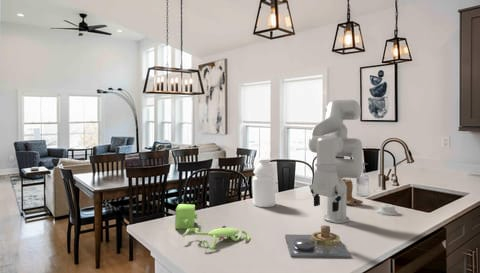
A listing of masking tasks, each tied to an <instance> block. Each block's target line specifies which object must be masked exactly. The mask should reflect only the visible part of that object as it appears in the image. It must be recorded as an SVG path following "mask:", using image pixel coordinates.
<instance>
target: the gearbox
mask: <svg viewBox="0 0 480 273" xmlns="http://www.w3.org/2000/svg"><path fill="white" fill-rule="evenodd" d="M174 218H175V219H174V220H175V221H174V224H175V226H174V229H178V230H187V229H189V228H194V225H195V220H198V213H196V205H195V204H191V203H190V204H189V203H187V204H186V203H180V204H178V205H177V206H176V208H175V217H174Z"/></svg>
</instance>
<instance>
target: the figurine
mask: <svg viewBox="0 0 480 273" xmlns="http://www.w3.org/2000/svg"><path fill="white" fill-rule="evenodd" d="M193 231H194V233H195V235H197V236H210V237H213V240H212V246H210V244H209V242H208V241H207V240H206V239H202V240H201V243H202V246H203V247H204V249H205V252H206V253H207V248H208V250H210V251H212V250H214V249H215V248H216V244H217V238H218V241H221V240H223V239H224V238H227V239H229V238H231V240H233V241H234V242H237V241H238V240H240V238H241V237H242V234H244V235H245V236H246V237H243V240H244V241H246V242H249V241H250V240H251V237H250V234H249V233H248V232H247V231H245V230H241V231H239V229H237V228H236V227H235V228H234V227H227V226H226V225H223V226H222V227H217V228H216V229H212V230H210V231H209V232H207V231H205V232H203V231H200V228H199V227H193V228H189V229H185V232H184V233H182V238H185V237H186V236H187V235H188V234H189V232H193ZM238 233H239V234H238ZM236 235H238V236H237V238H236ZM205 243H206V245H207V248H206V245H205Z"/></svg>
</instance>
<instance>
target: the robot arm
mask: <svg viewBox="0 0 480 273" xmlns="http://www.w3.org/2000/svg"><path fill="white" fill-rule="evenodd" d="M324 112H325V115H324V119H323V120H321V121H320V122H319V123H317V124H316V125H315V126H314V127H312V129H311V132H310V135H309V140H308V149H309V151H310V152H312V153H314V154H315V153H316V163H315V164H314V165H315V167H316V169H315V170H314V174H313V180H312V181H313V182H312V183H311V184H309V187H308V188H309V190H310V193H311V195H312V197H313V207H319V206H320V205H321V197H320V196H323V197H326V214H325V215H324V216H323V220H325V221H326V222H328V223H334V224H346V223H348V222H350V217H349V216H347V204H346V195H347V187H346V184H345V182H344V181H343V180H342V179H359V178H361V176H362V174H363V173H362V172H363V143H362V141H361V139H359V138H356V137H354V138H353V137H348V128H347V126H346V125H345V123H344V121H352V120H353V121H355V120H358V119H359V118H360V117H361V112H362V110H361V106H360V104H359V102H358V101H357V100H355V99H335V100H332V101H329V103H328V104H327V105H326V106H325V110H324ZM336 157H345V158H336ZM346 157H350V158H346Z"/></svg>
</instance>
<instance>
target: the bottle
mask: <svg viewBox="0 0 480 273" xmlns="http://www.w3.org/2000/svg"><path fill="white" fill-rule="evenodd" d="M270 160H271V159H270V158H265V157H263V158H259V159H258V164H256V165H255V167H254V169H253V171H252V172H253V174H254V176H253V177H252V204H253V206H254V207H259V208H270V207H274V206H276V202H277V201H276V190H277V189H276V185H277V184H276V182H277V181H276V179H277V178H276V177H275V174H276V170H275V168H274V166H273V165H272V163H270V162H271V161H270Z"/></svg>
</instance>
